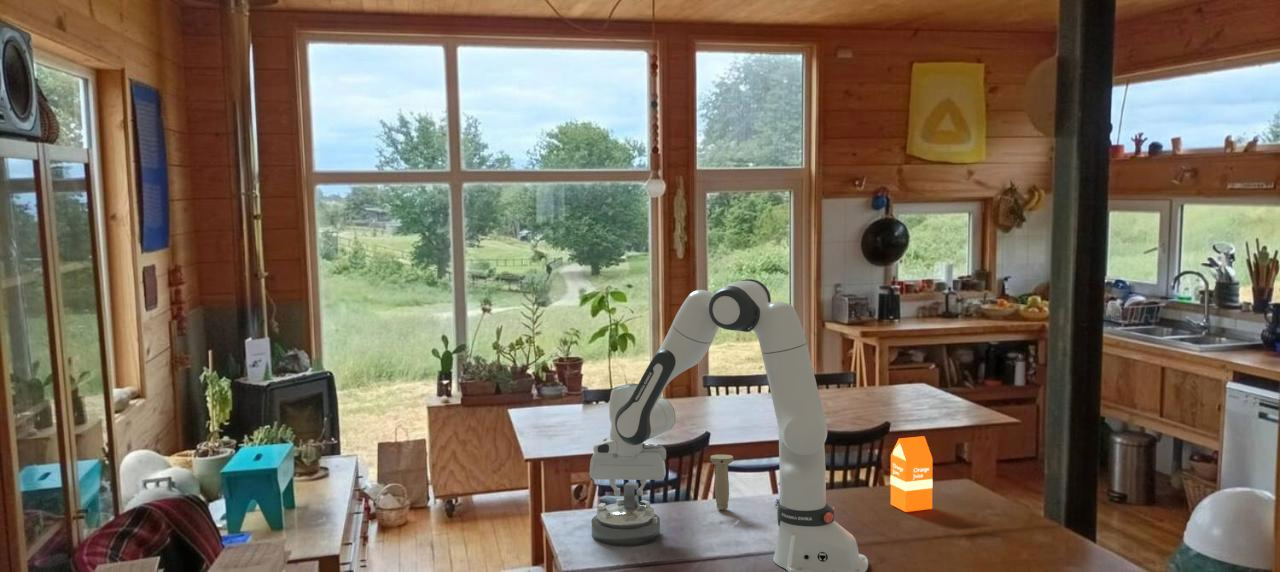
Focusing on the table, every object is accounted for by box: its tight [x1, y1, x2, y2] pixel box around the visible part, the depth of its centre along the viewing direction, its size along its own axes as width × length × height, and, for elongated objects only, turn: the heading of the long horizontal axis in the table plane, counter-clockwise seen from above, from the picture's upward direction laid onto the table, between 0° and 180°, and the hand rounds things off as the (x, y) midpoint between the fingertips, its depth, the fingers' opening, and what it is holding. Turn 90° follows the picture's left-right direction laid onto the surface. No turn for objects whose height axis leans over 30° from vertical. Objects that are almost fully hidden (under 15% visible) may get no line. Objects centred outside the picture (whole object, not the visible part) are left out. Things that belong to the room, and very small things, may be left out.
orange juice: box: [890, 435, 933, 513], centre depth 259 cm, size 8×9×20 cm
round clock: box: [596, 481, 655, 528], centre depth 239 cm, size 15×15×8 cm
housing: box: [591, 513, 661, 548], centre depth 240 cm, size 18×18×6 cm
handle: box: [710, 454, 734, 510], centre depth 260 cm, size 5×6×15 cm
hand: (628, 495), depth 243 cm, fingers open, 5 cm apart
